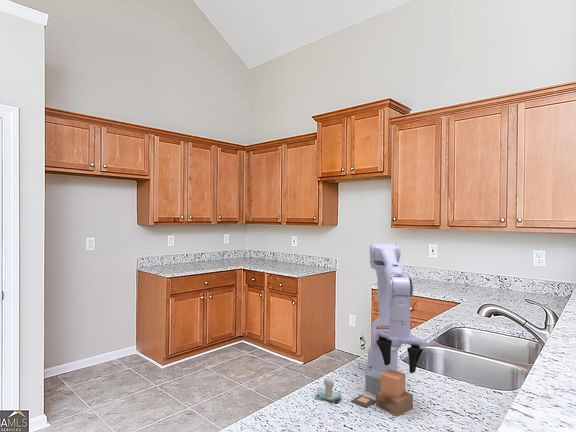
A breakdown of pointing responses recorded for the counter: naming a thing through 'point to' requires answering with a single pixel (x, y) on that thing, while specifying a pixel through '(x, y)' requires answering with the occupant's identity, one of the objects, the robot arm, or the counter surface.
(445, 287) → the counter surface
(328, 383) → the pacifier
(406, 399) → the walnut block
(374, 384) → the slate block
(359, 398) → the card
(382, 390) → the terracotta block
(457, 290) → the counter surface
